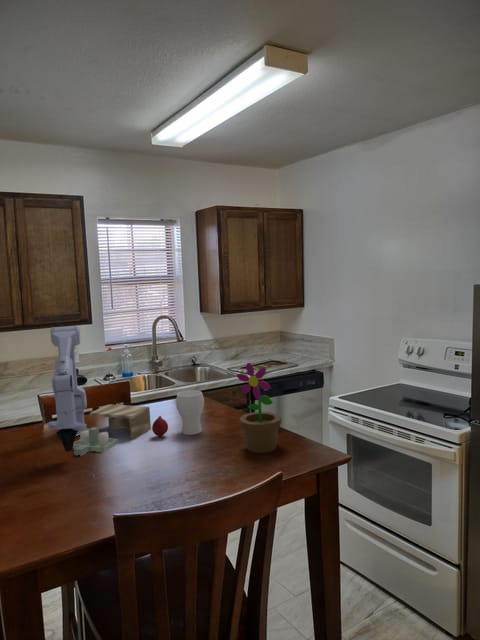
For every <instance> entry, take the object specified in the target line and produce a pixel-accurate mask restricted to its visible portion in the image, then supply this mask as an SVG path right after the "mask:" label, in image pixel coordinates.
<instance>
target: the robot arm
mask: <svg viewBox="0 0 480 640" xmlns="http://www.w3.org/2000/svg"><path fill="white" fill-rule="evenodd" d="M50 340H51V341H50V343H51V344H53V346H54V347H57V351H58V358H56V360H55V361H54V377H52V379H51V387H52V388H51V389H52V391H53V398H54V399H55V410H56V421H55V420H52V421H49V422H47V429H49V430H50V429H56V430H58V431H56V433H55V435H56V436H57V437H58V438H59V440H60V441H61V443H62V446H63V449H64V451H65V452H71V451H72V450H73V451H74V449H73V444H74V442H75V439H76V438H77V437H76V436H78V435H80V431H82V432H83V431H85V430H89V429H90V428H88V427H87V424H88V423H85V413H84V410H86V409H87V406H88V405H87V403H88V401H87V394H86V390H85V389H84V388H83V387H82V386H79V385H78V379H77V368H76V365H77V364H76V355H75V349H76V347H77V346H78V345H80V344H81V331H80V327H79V325H75V326H74V325H73V326H72V325H70V326H60V327H59V326H58V327H54V326H52V327H51V329H50ZM78 437H79V436H78Z"/></svg>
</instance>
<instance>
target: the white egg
mask: <svg viewBox="0 0 480 640" xmlns="http://www.w3.org/2000/svg"><path fill="white" fill-rule="evenodd" d="M98 438H99V447H103V446H105V445H107V444H109V438H110V437H109V432H108V431H101V432H99V434H98Z"/></svg>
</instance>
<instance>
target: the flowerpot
mask: <svg viewBox="0 0 480 640" xmlns="http://www.w3.org/2000/svg"><path fill="white" fill-rule="evenodd" d="M245 367H246V368H245V369H246V372H247V374H244V373H237V374H236V378H238V380H239V381H242V382H244V383H247V382H248V383H247V384H245V385H243V386H242V388H241V394H242V395H246V394H248V393H249V392H250V391H251V389H252V393H253V396H254V398H255V399H256V400H257V401H258V402H257V403H258V404H257V403H251V404H250V405H248V406H247V407H248V408H249V409H251V410H254V412H249V413H245V414H243V415H241V416H240V417H239V421H238V422H239V426H240V427H241V428H242V429H243V434H244V441H245V447H246V449H247V450H248V451H249V452H253V453H254V454H255V453H258V454H259V453H260V454H262V453H263V454H264V453H271V452H273V451H274V450H276V449H277V443H278V433H279V427H281V425H282V416H281V415H280V414H278V413H275V412H271V411H262V404H263V405H267V406H268V405H270V406H271V405H272V404H273V400H272V399H271V397H269V396H268V395H265V394H264V395H263V394H262V395H261V391H260V389H263V390H270V389H271V387H272V386H271V385H270V383H268V382H267V381H264V380H260V381H259V379H262V378H263V377H264V376H265V375H266V372H267V369H266V367H263V368H260V369H259V370H257V372H256V373H255V369H254V366H253V365H252V364H251V363H250V362H247V363H246V366H245ZM254 374H255V375H254ZM248 375H249V376H248ZM255 411H256V412H255Z"/></svg>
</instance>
